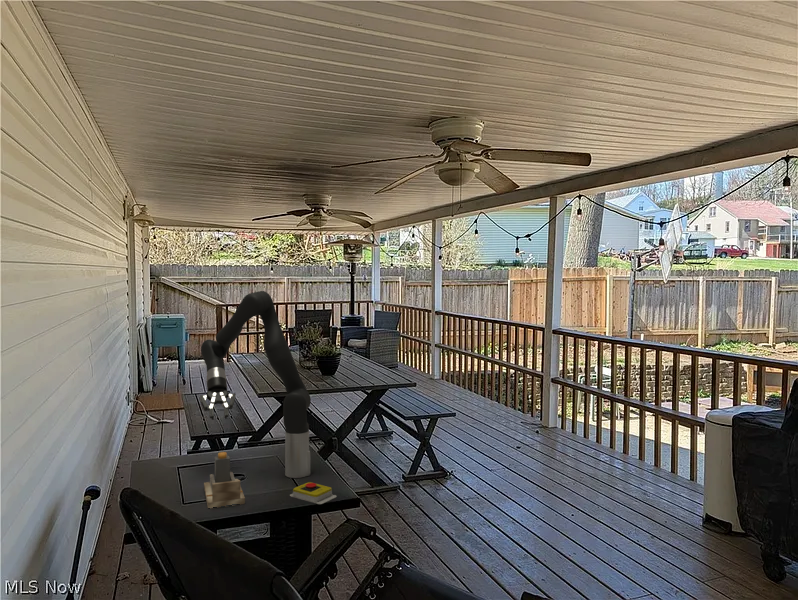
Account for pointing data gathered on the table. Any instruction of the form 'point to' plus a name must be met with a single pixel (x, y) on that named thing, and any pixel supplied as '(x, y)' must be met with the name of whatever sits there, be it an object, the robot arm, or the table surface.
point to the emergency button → (313, 493)
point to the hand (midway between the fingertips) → (219, 417)
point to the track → (223, 492)
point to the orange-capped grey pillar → (222, 467)
